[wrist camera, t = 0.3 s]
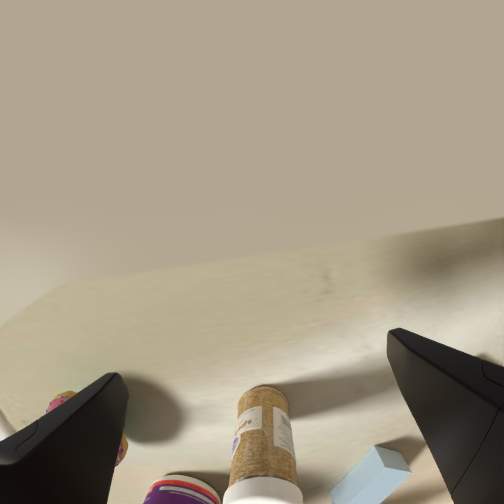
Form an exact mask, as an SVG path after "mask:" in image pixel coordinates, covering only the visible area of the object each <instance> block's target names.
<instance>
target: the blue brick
mask: <svg viewBox="0 0 504 504" xmlns="http://www.w3.org/2000/svg"><path fill="white" fill-rule="evenodd" d="M411 473H412V472H411V470H410V468H409V467H408V465H407V463H406V462H405V460H404V458H403V457H402V455H401V453H400V452H397V451H394V450H390V449H386V448H382V447H378V446H375V445H374V446H373V447H372V448H371V449H370V450H369V452H368V453H367V454H366V455H365V456H364V457H363V458H362V459H361V461H360V462H359V463H358V464H357V465H356V466H355V467H354V468H353V469H352V470H351V471H350V472H349V473H348V474H347V475H346V476H345V477H344V478H343V479H342V480H341V481H340V482H339V483H338V484H337V485H336V486H335V487H334V488H333V489H332V490H331V491H330V494H331V498H332V503H333V504H380V503H381V502H382V501H383V500H384V499H386V498H387V497H388V496H389V495H390V494H391V493H392V492H393V491H394V490H395V489H396V488H397V487H398V486H399V485H400V484H401V483H402V482H403V481H404V480H405V479H406V478H407V477H408V476H409V475H410V474H411Z"/></svg>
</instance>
